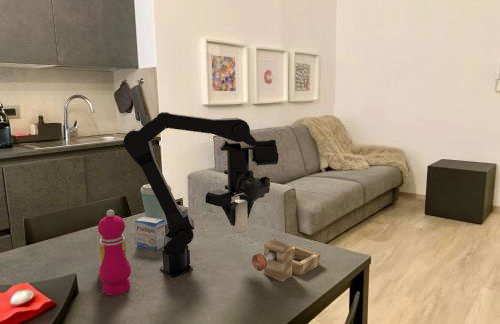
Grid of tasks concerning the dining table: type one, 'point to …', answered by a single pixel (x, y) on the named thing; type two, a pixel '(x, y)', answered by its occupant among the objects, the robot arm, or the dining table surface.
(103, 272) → the pepper mill
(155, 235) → the medicine box
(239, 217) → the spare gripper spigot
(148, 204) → the disposable coffee cup
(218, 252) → the dining table surface
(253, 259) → the lock pin
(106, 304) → the dining table surface
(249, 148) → the robot arm
